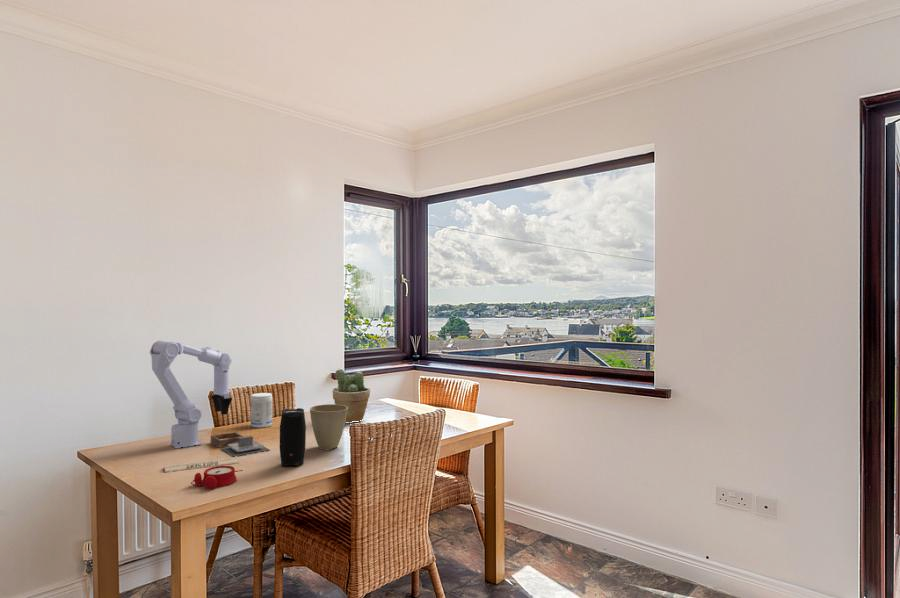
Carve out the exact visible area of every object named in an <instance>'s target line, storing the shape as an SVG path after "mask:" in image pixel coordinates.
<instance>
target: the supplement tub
mask: <svg viewBox="0 0 900 598" xmlns="http://www.w3.org/2000/svg"><path fill="white" fill-rule="evenodd" d="M272 425H273V394H272V393H270V392H257V393H252V394H251V395H250V426H251V427H252V428H255V429H256V428H257V429H259V428H260V429H261V428H262V427H263V428H268V427H271V426H272Z"/></svg>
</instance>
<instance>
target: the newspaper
mask: <svg viewBox="0 0 900 598" xmlns="http://www.w3.org/2000/svg"><path fill="white" fill-rule="evenodd" d="M233 463H237V464H240V460H239V458H238V457H230V458H222V459H214V460H206V461H198V462H197V461H196V462H188V463H180V464H173V465H165V466H164V472H165V473H171V472H170V471H173V472H178V471H177V470H181V471H186V470H185V469H189V470H193V469H192V468H197V469H202V468H201V467H205V468H212V467H211V466H213V467H216V466H218V465H221V466H226V465H225V464H229V465H234V464H233Z"/></svg>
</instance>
